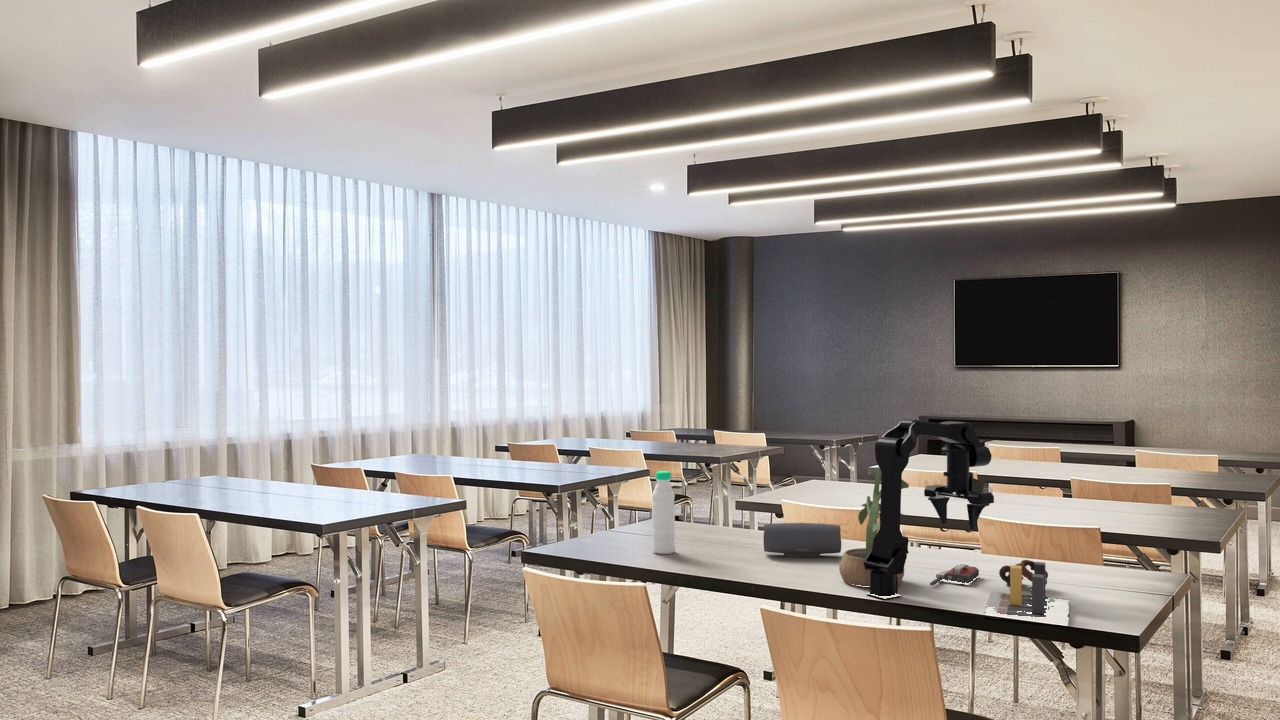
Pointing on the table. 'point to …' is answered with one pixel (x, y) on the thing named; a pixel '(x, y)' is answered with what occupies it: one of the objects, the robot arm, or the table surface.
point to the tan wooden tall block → (1016, 585)
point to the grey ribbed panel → (1024, 597)
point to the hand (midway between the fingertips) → (958, 526)
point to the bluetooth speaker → (802, 539)
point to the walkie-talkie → (958, 574)
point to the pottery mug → (1025, 571)
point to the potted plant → (854, 558)
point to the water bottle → (663, 515)
